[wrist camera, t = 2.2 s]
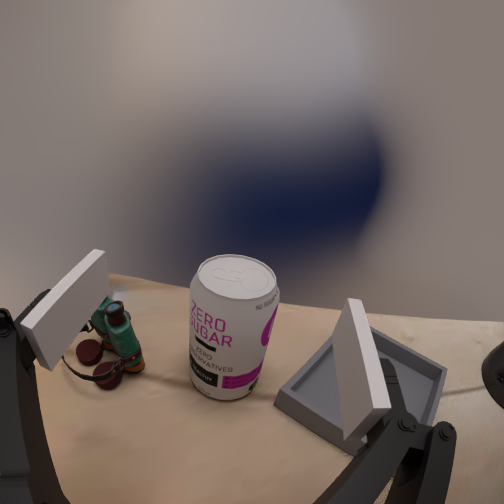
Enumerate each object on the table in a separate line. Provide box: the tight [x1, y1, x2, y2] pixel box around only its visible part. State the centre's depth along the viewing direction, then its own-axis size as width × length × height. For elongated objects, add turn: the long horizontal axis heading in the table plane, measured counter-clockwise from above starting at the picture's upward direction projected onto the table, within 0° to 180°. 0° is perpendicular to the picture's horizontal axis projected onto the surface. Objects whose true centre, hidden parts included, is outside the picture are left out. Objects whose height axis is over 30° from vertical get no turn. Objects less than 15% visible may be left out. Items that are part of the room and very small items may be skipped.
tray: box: [274, 326, 447, 478], centre depth 31 cm, size 18×18×4 cm
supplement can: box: [189, 254, 279, 400], centre depth 29 cm, size 8×8×15 cm
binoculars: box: [61, 295, 145, 389], centre depth 28 cm, size 9×11×10 cm
